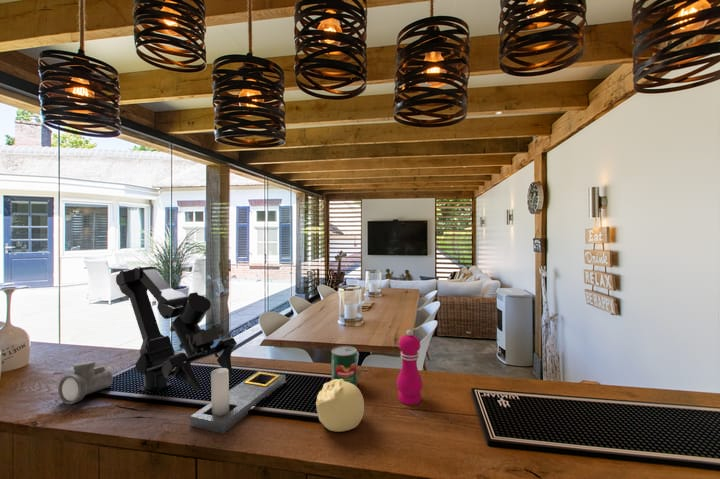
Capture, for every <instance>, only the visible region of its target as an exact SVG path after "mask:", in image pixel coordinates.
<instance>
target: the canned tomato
mask: <svg viewBox="0 0 720 479" xmlns="http://www.w3.org/2000/svg"><path fill="white" fill-rule="evenodd" d="M357 353H358V350H357V348H356V347H355V346H350V345H340V346H336V347H334V348H332V349H331V381H332V380H334V379H343V380H344V381H345V382H349V383H352V384H353V385H355V386H356V387H357V386H358V377H357V376H358V373H357V372H358V361H357V360H358V358H357V356H358V354H357Z"/></svg>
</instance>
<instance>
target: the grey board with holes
mask: <svg viewBox="0 0 720 479" xmlns="http://www.w3.org/2000/svg"><path fill="white" fill-rule="evenodd" d="M259 382H260V383H259ZM263 382H265V383H263ZM286 382H287V381H286V374H278V373H273V372H268V371H267V372H266V371H261V370H257V371H256V372H255V373H254V374H252V375H251V376H248V377H247V378H245V379H244V380H243V381H242V382H241V381H240V383H239V384H237V385H235V386H234V387H232V388H231V389H229V413H228V414H226V415H225V416H224V417H222V418H221V417H216V416H212V401H211V402H209V403H208V404H207V405H205V406H204V407H202V408H200V409H198V410H197V411H196V412H194V413H193V414H191V415H190V416H189V419H190V423H189V424H190V427H193V428H198V429H202V430H204V431H205V430H206V431H210V432H215V433H218V434H225V433H227V431H229V430H230V429H231V428H232V427H233V426H235V425H236V424H238V422H240V421H241V420H242V419H243V418H244V417H246V416H247V415H248V414H249V413H248V411H249V409H250V408H251V407H252V406H254V405H255V404H256V403H258V402H259V401H261V400H262V399H263V398H265V397H266V396H268V395H269V394H271V393H272V392H273V391H275V390H276V389H277V388H279V387H280V386H281V387H283V386H284V385H285V384H286ZM284 383H285V384H284ZM283 384H284V385H283ZM282 385H283V386H282ZM281 387H280V388H281ZM280 388H279V389H280ZM276 391H277V390H276ZM276 391H275V392H276ZM271 395H272V394H271Z"/></svg>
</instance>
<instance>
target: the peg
mask: <svg viewBox="0 0 720 479" xmlns="http://www.w3.org/2000/svg"><path fill="white" fill-rule="evenodd" d="M229 379H230V377H229V374H228V369H227V368H222V367H221V368H216V369H213V370H212V371H210V391H211V392H210V393H211V394H210V395H211V398H210V399H211V402H212V416H216V417H221V418H222V417H224V416H225V415H226V414H228V413H229V390H230V385H229V384H230V383H229V381H230V380H229Z"/></svg>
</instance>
